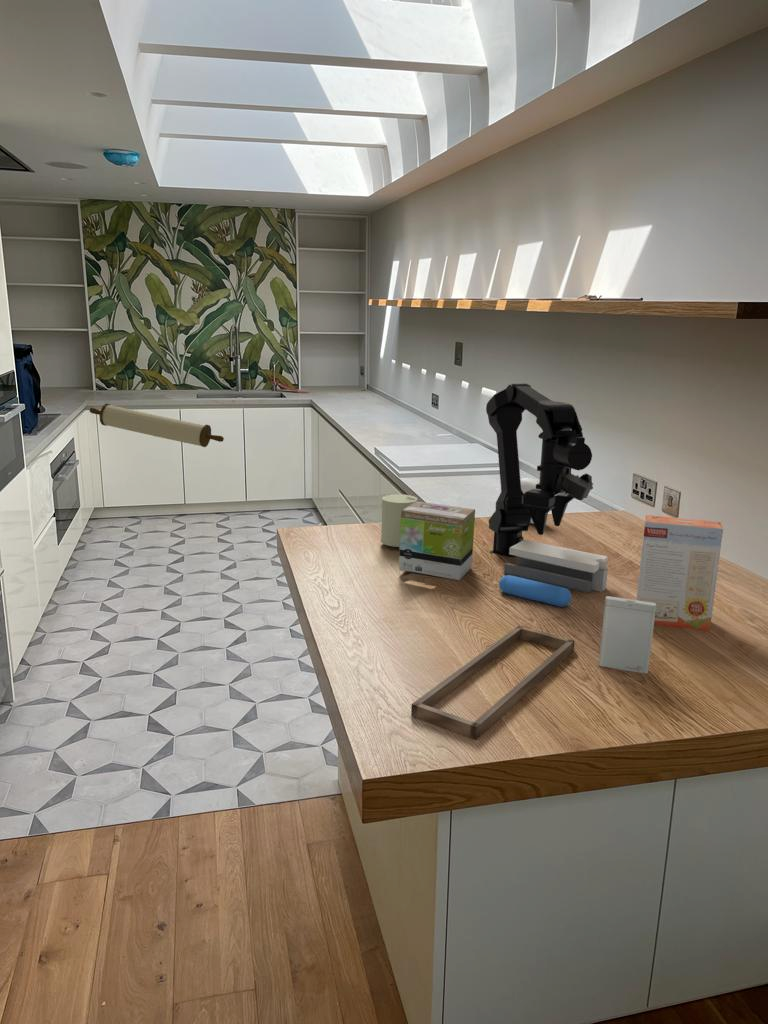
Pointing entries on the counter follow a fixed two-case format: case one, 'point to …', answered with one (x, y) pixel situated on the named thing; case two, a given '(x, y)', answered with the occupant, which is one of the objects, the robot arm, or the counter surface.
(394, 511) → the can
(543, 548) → the duct lid
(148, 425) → the rolling pin
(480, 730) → the frame
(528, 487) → the photo printer
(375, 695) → the counter surface
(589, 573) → the duct
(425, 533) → the tea box
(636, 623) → the hard drive
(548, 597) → the blue pill shape
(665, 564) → the cracker box
